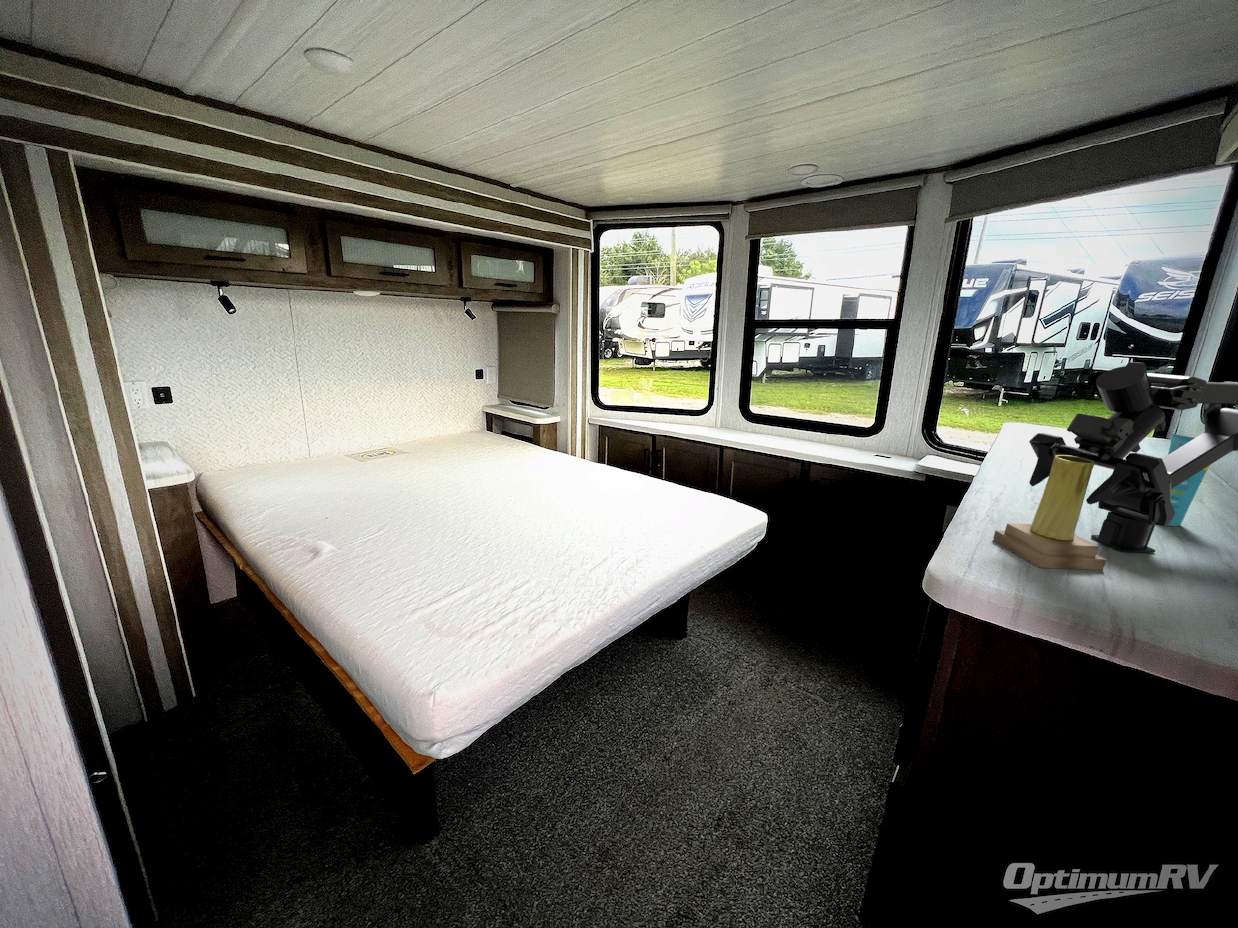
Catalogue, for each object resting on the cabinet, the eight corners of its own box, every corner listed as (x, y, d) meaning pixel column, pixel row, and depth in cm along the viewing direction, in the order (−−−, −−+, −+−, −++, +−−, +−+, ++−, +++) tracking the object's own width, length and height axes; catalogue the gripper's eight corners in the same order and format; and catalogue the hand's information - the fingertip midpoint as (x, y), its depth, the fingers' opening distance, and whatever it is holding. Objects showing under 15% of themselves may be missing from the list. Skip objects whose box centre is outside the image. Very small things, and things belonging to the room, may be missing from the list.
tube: (1136, 517, 108) (1166, 433, 102) (1147, 514, 109) (1177, 432, 104) (1183, 530, 101) (1218, 442, 95) (1193, 527, 103) (1229, 440, 97)
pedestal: (1049, 541, 94) (1055, 522, 92) (1102, 569, 83) (1110, 548, 82) (992, 539, 94) (998, 521, 92) (1039, 567, 83) (1045, 546, 82)
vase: (1023, 525, 91) (1044, 452, 87) (1061, 529, 89) (1085, 456, 85) (1040, 538, 85) (1063, 461, 81) (1081, 543, 84) (1108, 465, 79)
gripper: (1051, 390, 90) (990, 449, 90) (1184, 408, 72) (1107, 481, 73) (1069, 430, 94) (1011, 486, 94) (1200, 456, 76) (1127, 524, 77)
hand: (1058, 493), depth 84 cm, fingers open, 9 cm apart
